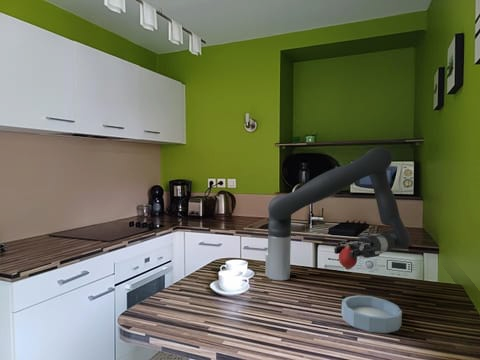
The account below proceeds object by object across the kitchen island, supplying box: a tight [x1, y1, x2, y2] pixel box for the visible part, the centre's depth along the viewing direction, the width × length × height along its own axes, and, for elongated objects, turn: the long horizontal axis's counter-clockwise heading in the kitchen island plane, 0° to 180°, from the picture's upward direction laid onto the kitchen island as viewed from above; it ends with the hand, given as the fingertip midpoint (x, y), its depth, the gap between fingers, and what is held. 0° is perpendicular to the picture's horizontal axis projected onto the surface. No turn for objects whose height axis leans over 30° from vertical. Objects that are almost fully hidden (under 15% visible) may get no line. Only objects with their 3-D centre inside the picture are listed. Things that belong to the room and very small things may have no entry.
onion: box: [338, 245, 358, 271], centre depth 107 cm, size 6×6×8 cm
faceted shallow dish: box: [341, 294, 403, 334], centre depth 97 cm, size 16×16×4 cm
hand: (343, 252), depth 106 cm, fingers closed on onion, 5 cm apart
